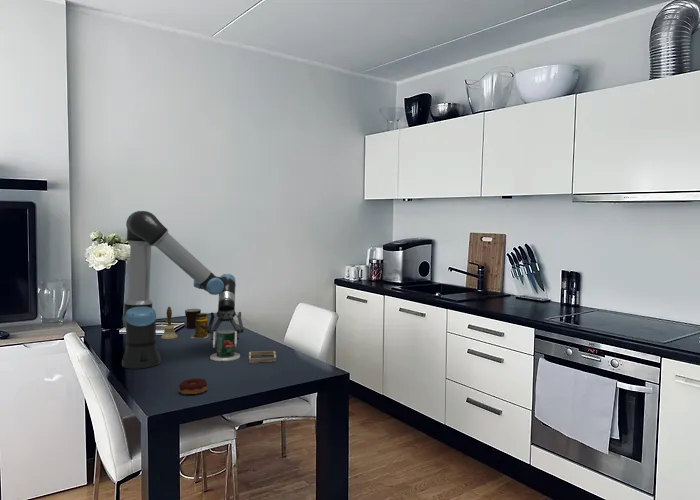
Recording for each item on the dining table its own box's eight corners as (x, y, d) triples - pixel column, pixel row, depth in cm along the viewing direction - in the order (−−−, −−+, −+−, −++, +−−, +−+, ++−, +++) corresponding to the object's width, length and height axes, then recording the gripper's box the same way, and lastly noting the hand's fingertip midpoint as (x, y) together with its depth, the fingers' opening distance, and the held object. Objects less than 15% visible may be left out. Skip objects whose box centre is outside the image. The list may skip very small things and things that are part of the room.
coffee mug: (198, 329, 277) (198, 311, 276) (182, 329, 277) (182, 311, 277) (204, 325, 289) (204, 307, 288) (189, 324, 289) (189, 307, 288)
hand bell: (180, 337, 259) (180, 306, 258) (165, 340, 253) (165, 308, 252) (172, 334, 264) (172, 304, 263) (157, 337, 258) (157, 306, 257)
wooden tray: (276, 362, 217) (276, 357, 217) (249, 363, 215) (249, 359, 215) (275, 355, 228) (275, 350, 228) (249, 356, 226) (249, 351, 226)
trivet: (231, 362, 216) (231, 360, 216) (204, 360, 219) (204, 358, 219) (245, 354, 228) (245, 353, 228) (219, 352, 231) (219, 350, 231)
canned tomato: (229, 358, 219) (230, 333, 218) (213, 357, 221) (213, 332, 220) (237, 354, 227) (238, 330, 226) (221, 352, 228) (221, 328, 228)
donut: (172, 394, 177) (172, 383, 177) (190, 385, 187) (190, 375, 186) (195, 398, 174) (195, 386, 174) (213, 389, 183) (212, 378, 183)
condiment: (207, 338, 258) (207, 315, 258) (190, 338, 257) (190, 315, 256) (208, 334, 266) (208, 312, 265) (191, 335, 264) (191, 312, 263)
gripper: (249, 307, 239) (249, 349, 225) (203, 308, 235) (200, 350, 221) (249, 298, 234) (249, 340, 219) (202, 299, 230) (199, 342, 215)
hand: (224, 345), depth 220 cm, fingers open, 9 cm apart
